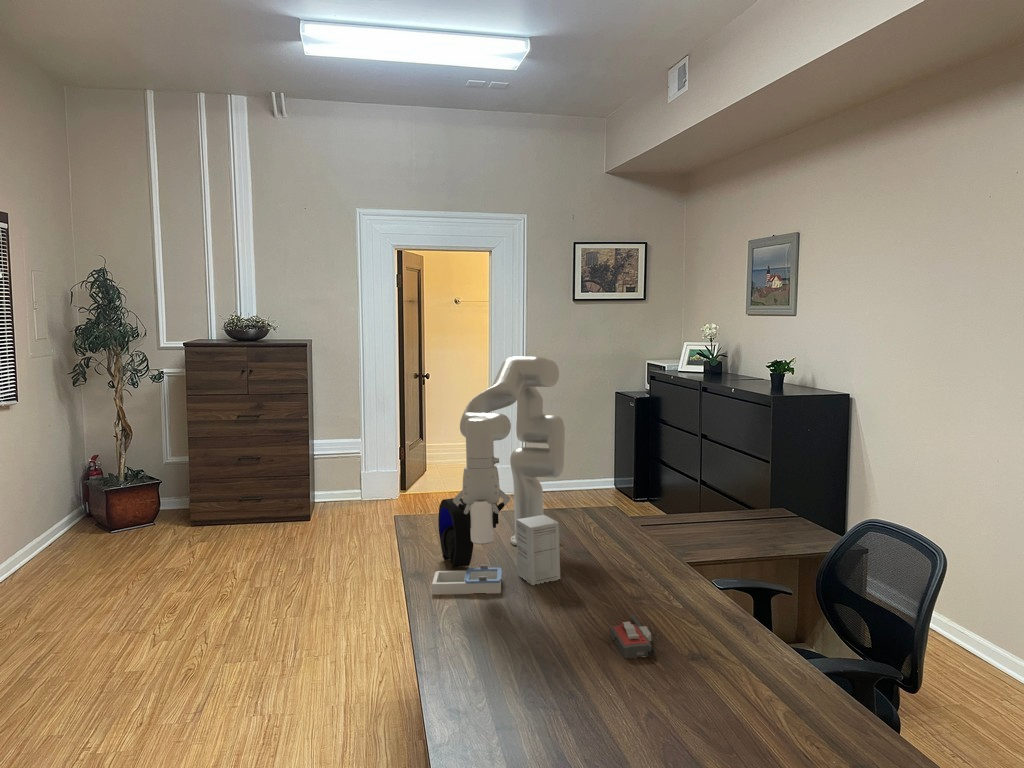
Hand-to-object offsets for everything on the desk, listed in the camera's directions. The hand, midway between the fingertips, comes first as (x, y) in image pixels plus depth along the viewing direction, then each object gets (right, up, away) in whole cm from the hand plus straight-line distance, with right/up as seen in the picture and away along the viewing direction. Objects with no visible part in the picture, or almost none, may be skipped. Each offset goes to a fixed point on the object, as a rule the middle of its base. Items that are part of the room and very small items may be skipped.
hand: (482, 526), depth 197 cm
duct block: (-4, -17, +2) cm, 18 cm away
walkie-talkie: (+36, -20, -32) cm, 52 cm away
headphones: (-9, -16, +21) cm, 27 cm away
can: (0, -4, 0) cm, 4 cm away
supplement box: (+16, -16, +8) cm, 24 cm away
